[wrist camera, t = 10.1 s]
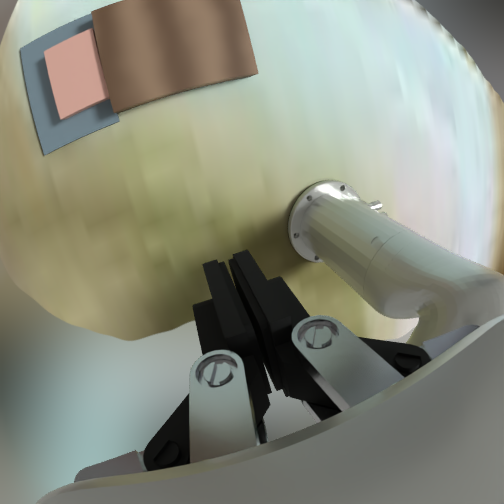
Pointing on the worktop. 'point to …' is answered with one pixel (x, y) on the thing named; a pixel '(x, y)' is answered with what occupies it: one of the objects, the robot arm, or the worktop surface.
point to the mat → (42, 97)
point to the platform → (170, 47)
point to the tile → (76, 74)
